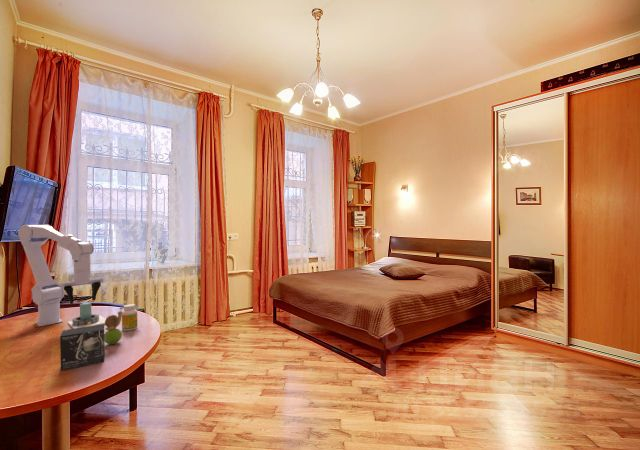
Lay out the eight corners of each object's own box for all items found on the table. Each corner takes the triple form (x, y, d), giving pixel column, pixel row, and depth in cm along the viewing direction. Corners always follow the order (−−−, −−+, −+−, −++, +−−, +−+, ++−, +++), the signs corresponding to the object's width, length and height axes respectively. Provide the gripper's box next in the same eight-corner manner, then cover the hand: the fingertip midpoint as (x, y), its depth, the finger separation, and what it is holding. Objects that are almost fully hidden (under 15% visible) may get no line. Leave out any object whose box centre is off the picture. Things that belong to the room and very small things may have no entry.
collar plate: (67, 323, 135) (67, 317, 135) (100, 316, 144) (100, 310, 144) (75, 330, 125) (75, 324, 125) (110, 323, 134) (110, 316, 134)
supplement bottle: (130, 331, 123) (129, 307, 123) (118, 330, 124) (118, 306, 124) (140, 327, 129) (140, 303, 128) (129, 326, 130) (129, 303, 130)
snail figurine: (127, 340, 113) (127, 308, 113) (111, 347, 107) (110, 313, 107) (117, 339, 115) (116, 307, 115) (99, 345, 109) (99, 311, 109)
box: (59, 372, 90) (59, 336, 90) (63, 363, 95) (62, 329, 95) (104, 362, 96) (103, 328, 96) (105, 355, 101) (104, 323, 101)
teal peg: (81, 324, 130) (81, 305, 130) (78, 322, 134) (78, 303, 134) (93, 322, 133) (92, 303, 133) (90, 319, 137) (89, 301, 137)
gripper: (62, 273, 125) (63, 306, 125) (104, 268, 136) (105, 299, 136) (59, 271, 130) (59, 303, 130) (100, 267, 141) (100, 297, 141)
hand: (82, 301), depth 133 cm, fingers open, 7 cm apart
